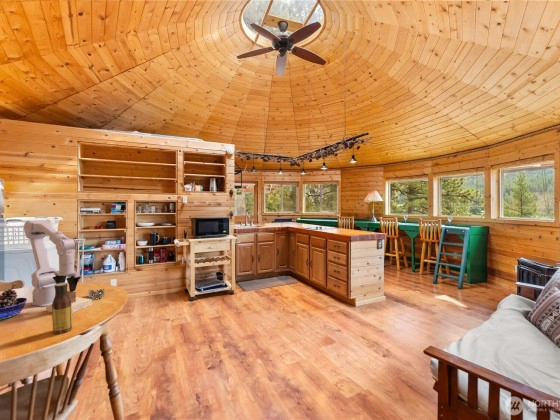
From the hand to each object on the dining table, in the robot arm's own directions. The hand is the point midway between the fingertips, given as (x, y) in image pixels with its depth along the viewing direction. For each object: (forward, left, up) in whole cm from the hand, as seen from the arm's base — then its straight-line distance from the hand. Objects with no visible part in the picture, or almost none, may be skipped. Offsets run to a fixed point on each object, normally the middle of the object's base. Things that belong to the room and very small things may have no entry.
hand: (67, 290), depth 129 cm
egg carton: (-1, +17, -10) cm, 19 cm away
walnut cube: (0, 0, -6) cm, 6 cm away
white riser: (0, +1, -9) cm, 9 cm away
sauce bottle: (+22, -17, -10) cm, 29 cm away
